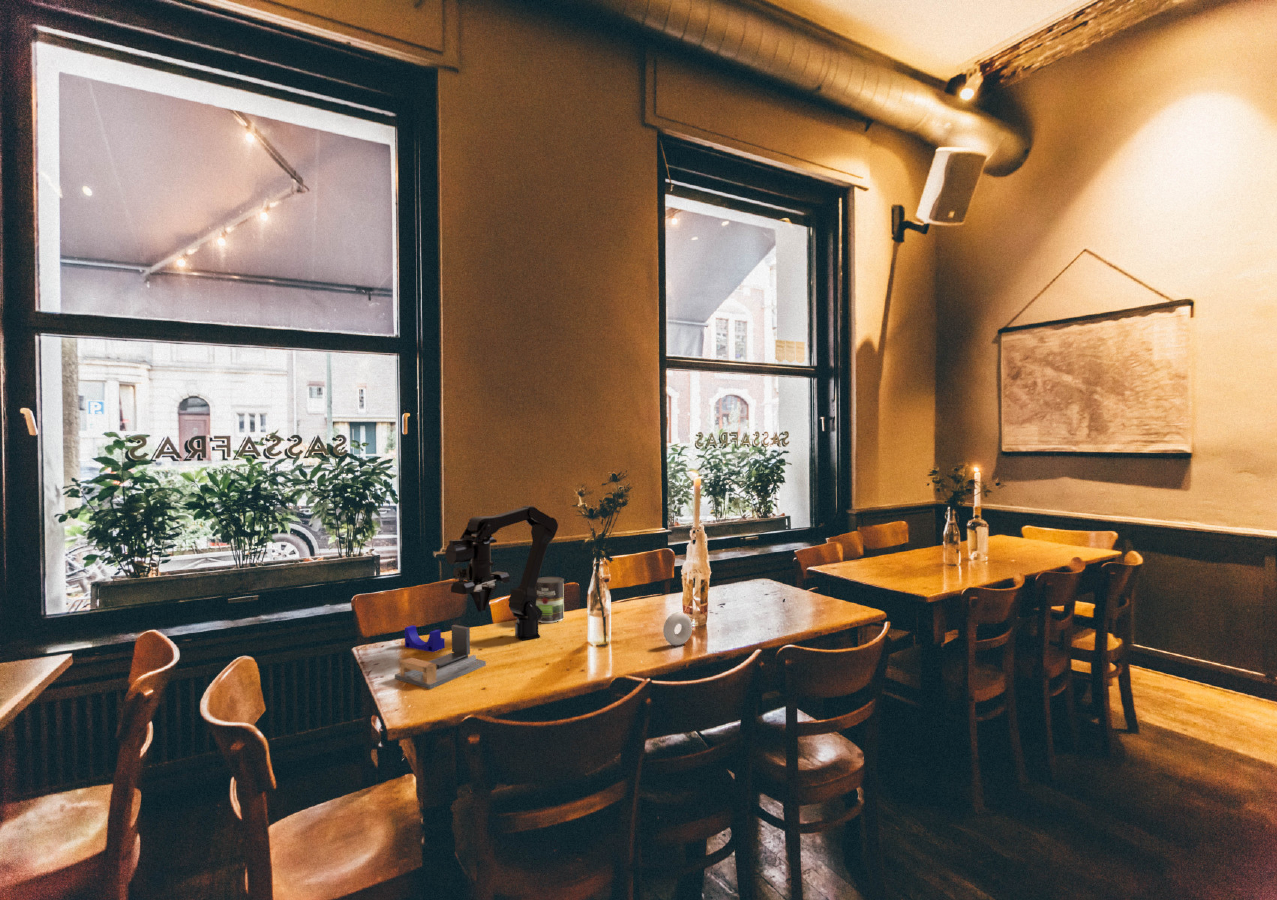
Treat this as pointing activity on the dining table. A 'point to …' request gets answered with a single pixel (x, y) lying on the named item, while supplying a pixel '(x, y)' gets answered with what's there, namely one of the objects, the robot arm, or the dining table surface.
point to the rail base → (435, 671)
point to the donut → (670, 626)
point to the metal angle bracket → (456, 647)
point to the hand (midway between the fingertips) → (481, 611)
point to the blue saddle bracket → (415, 642)
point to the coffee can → (550, 598)
